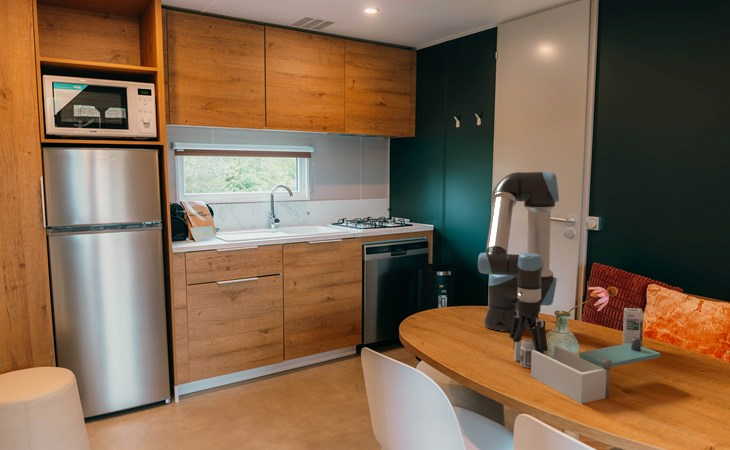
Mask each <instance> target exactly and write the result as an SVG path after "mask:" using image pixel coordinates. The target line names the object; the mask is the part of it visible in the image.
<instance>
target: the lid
mask: <svg viewBox="0 0 730 450" xmlns="http://www.w3.org/2000/svg"><path fill="white" fill-rule="evenodd" d="M578 355H579V356H580V357H582V358H584V359H587V360H589V361H591V362H594V363H596V364H598V365H600V366H603V367H605V368H610V369H611V368H614V367H615V368H616V367H619V366H624V365H628V364H634V363H639V362H643V361H649V360H653V359H658V358H661V352H658V351H655V350H653V349H650V348H647V347H645V346H643V345H642V346H641V339H640V338H636V337H633V338H632V343H627V344H623V343H622V344H617V345H613V346H607V347H606V346H605V347H602V348H597V349H592V350H585V351H580V352H578Z"/></svg>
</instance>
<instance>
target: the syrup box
mask: <svg viewBox="0 0 730 450" xmlns="http://www.w3.org/2000/svg"><path fill="white" fill-rule="evenodd" d="M622 324H623V328H622V331H623V332H622V344H627V343H632V338H633V337H636V338H640V339H641V346H642V347H643V337H644V336H643V334H644V311H643V309H642V308H631V307H629V308H628V307H624V308H623V323H622Z"/></svg>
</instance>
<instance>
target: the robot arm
mask: <svg viewBox="0 0 730 450" xmlns="http://www.w3.org/2000/svg"><path fill="white" fill-rule="evenodd" d="M557 179H558V178H557V176H556V173H554V172H547V171H535V172H533V171H532V172H531V171H530V172H529V171H528V172H525V171H524V172H521V171H520V172H519V171H518V172H517V171H516V172H512V173H510V174H508V175H506V176H504V177H503V178H502V179H501V180H500V181H498V183H497V185H496V186H495V187H494V189H493V191H492V194H491V204H492V210H491V217H490V223H489V229H488V235H487V243H486V250H485V252H480V253H479V254H478V258H477V269H478V272H479V273H480V274H483V275H484V274H485V275H490V276H489V279H488V285H487V286H488V308H487V311H486V314H485V318H484V319H483V325H484V324H485V325H486V326H487V327H489V328H492V329H496V330H504V331H503V332H510V333H509V339H512V341H513V350H514V351H513V352H514V353H513V354H514V357H513V359H514V360H513V361H515V362H518V361H519V362H520V348H521V346H522V345H521V343H522V338H523V335H524V333H525V330H526V328H527V330H528V332H529V333H530V336H531V341H533V344H534V348H535V351H538V352H540V353H542V354H543V352H547V351H548V341H547V332H546V321H545V320H541V319H540V318H539V314H540V312H541V310H542V309H541V306H551V305H552V304H553V303H554V299H555V298H554V297H555V294H556V293H555V292H556V287H557V281H558V279H557V277H555V276H554V272H553V271H552V270H551V269H550V261H551V260H550V256H551V255H550V253H551V249H550V248H551V212H552V210H553V209H554V208H555V207H556V203H558V202H560V196H559V185H558V180H557ZM517 202H523V203H524V204H523V207H524V208H526V210H527V245H526V246H527V247H526V249H527V250H526V251H527V252H524V253H520V254H510V253H508V248H509V241H510V240H509V239H510V233H511V232H510V231H511V225H512V217H513V211H514V207H515V206H516V204H517Z"/></svg>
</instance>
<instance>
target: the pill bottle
mask: <svg viewBox="0 0 730 450" xmlns="http://www.w3.org/2000/svg"><path fill="white" fill-rule="evenodd" d="M521 341H522V343H521V345H522V346H521V348H520V360H519V364H520V366H521V367H523V368H526V369H527V368H530V369H531V351H532V350H535V347H534V344H533V340H532V339H531V340H530V339H521Z"/></svg>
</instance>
